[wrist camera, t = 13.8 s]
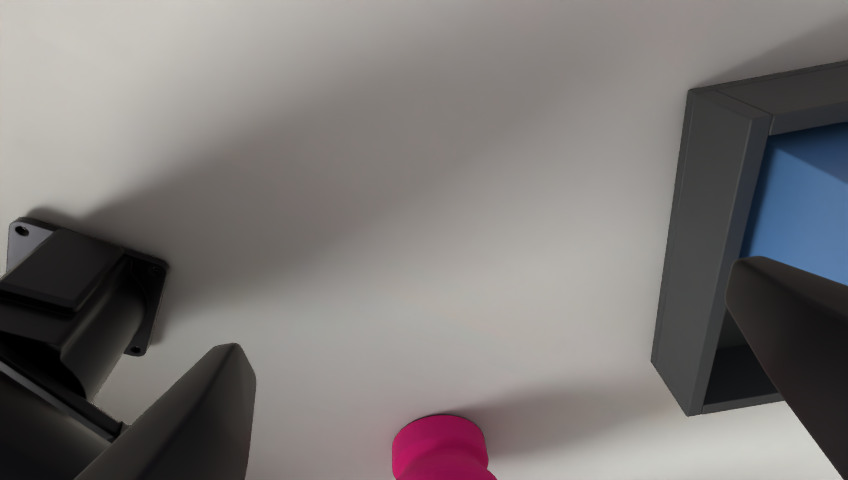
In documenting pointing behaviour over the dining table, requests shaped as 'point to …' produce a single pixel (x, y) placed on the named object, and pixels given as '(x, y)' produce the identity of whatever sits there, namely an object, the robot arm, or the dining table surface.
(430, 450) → the pepper mill
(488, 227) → the dining table surface
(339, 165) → the dining table surface
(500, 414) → the dining table surface
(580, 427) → the dining table surface
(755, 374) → the caddy
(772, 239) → the carton
